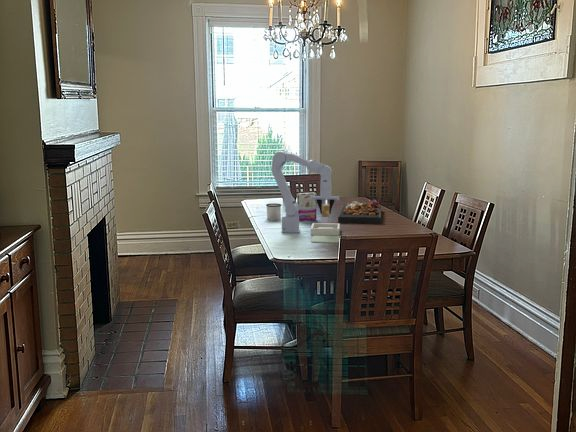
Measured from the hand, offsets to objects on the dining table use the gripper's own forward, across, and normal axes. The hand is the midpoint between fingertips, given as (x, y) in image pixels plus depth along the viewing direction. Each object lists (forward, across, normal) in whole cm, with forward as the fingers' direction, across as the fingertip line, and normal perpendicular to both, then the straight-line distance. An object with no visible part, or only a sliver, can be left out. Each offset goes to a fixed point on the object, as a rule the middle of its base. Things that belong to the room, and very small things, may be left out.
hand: (325, 213), depth 308 cm
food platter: (+11, +20, +50) cm, 55 cm away
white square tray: (+10, 0, +1) cm, 10 cm away
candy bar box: (+11, -13, +37) cm, 41 cm away
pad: (+10, +1, -17) cm, 20 cm away
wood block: (+1, 0, 0) cm, 1 cm away
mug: (+11, -33, +39) cm, 52 cm away
